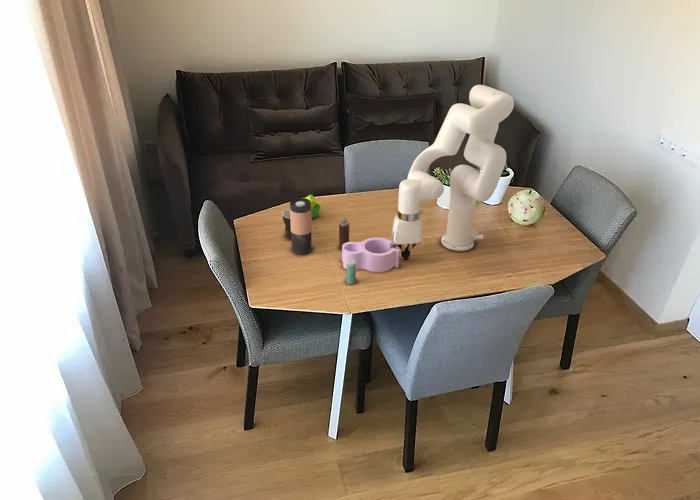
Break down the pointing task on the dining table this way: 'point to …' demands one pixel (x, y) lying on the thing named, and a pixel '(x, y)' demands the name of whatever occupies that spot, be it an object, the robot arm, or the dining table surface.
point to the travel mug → (301, 225)
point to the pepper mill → (343, 232)
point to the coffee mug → (287, 223)
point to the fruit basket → (313, 206)
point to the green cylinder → (351, 272)
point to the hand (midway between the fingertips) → (405, 258)
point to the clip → (371, 254)
